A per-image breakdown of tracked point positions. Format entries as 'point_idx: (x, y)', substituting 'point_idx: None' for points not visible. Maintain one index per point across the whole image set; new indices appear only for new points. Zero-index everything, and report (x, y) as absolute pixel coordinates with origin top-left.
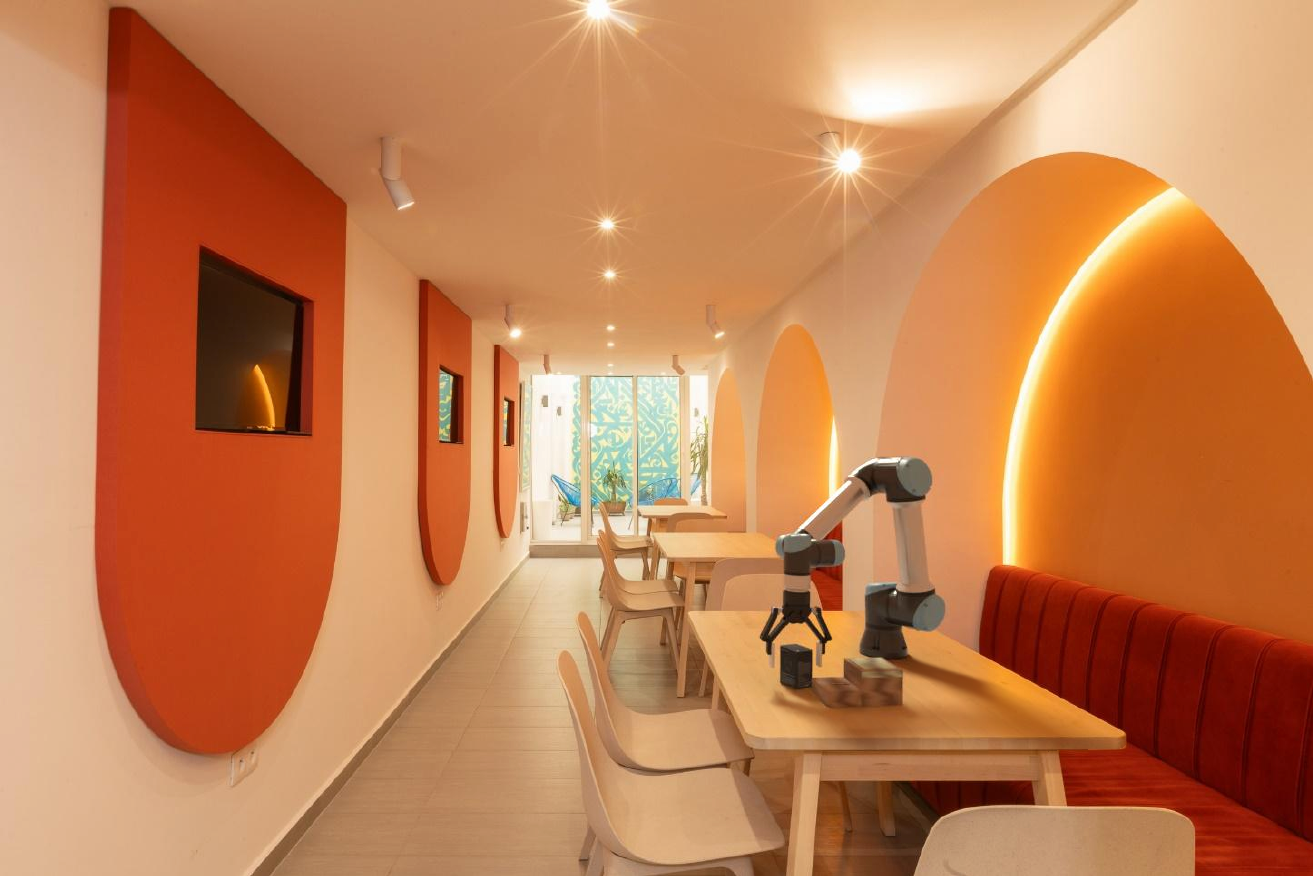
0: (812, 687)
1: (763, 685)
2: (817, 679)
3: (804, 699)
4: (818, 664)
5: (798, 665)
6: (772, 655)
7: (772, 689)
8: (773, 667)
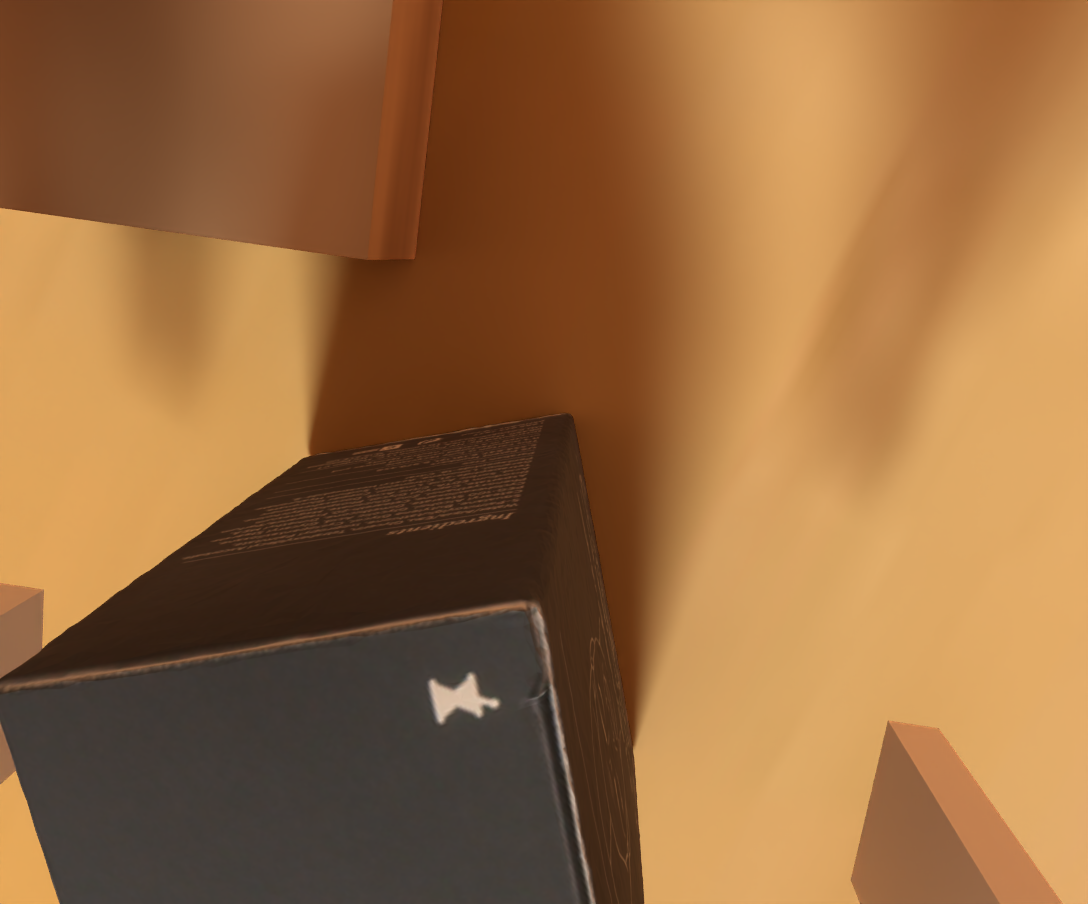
0: (401, 218)
1: (903, 709)
2: (307, 139)
3: (646, 9)
4: (17, 644)
5: (513, 497)
6: (1029, 873)
7: (870, 528)
8: (909, 726)
